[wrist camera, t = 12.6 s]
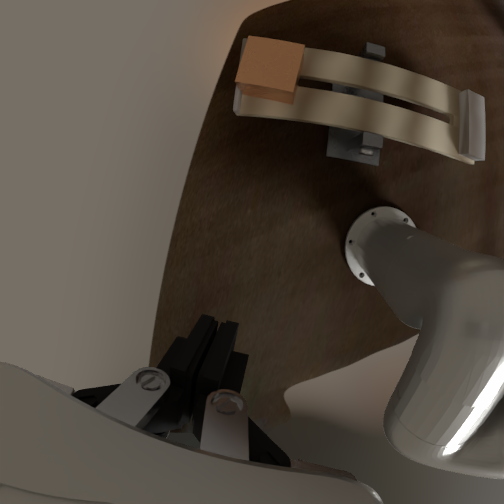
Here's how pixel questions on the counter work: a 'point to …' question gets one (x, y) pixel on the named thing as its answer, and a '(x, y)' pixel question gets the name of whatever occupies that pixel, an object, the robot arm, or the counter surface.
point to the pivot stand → (353, 142)
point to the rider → (270, 69)
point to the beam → (380, 105)
